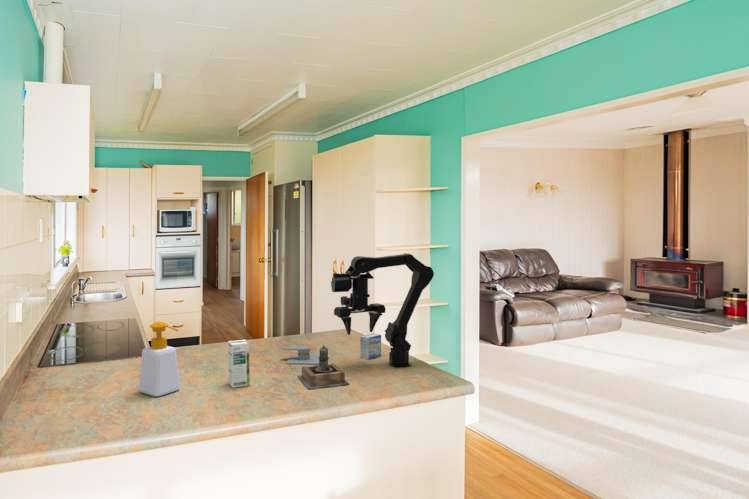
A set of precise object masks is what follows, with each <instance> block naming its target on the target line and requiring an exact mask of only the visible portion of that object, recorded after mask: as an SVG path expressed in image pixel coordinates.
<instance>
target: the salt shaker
mask: <svg viewBox="0 0 749 499" xmlns="http://www.w3.org/2000/svg"><path fill="white" fill-rule="evenodd" d="M319 355H320V357H319V358H318V359H319V367H317V368H316V369H315V371H316V374H321V373H331V371H332V368H330V367H329V366H328V364H329V359H330V357H329V349H328V348H327V347H326V346H325V344H323V345H322V347H320V348H319Z"/></svg>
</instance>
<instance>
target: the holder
mask: <svg viewBox="0 0 749 499" xmlns="http://www.w3.org/2000/svg"><path fill="white" fill-rule="evenodd" d="M328 366H329V367H330V368H332V371H331V373H321V374H316V371H315V369H316V368H317V367H319V365H301V375H297V379H298V380H299V381H300V382H301V383H302V384H303V385H304V387H306V389H307V390H317V389H327V388H335V387H344V386H350V382H348V380H346V372H345V371H344V370H343V369H341V368H340V367H339V366H338V365H337V364H336V363H333V362H331V363H328Z"/></svg>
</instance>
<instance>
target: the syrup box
mask: <svg viewBox="0 0 749 499" xmlns="http://www.w3.org/2000/svg"><path fill="white" fill-rule="evenodd" d="M227 362H228V364H227V366H228V368H227V369H228V384H229V385H230V387H231V388H233V389H234V388H239V387H240V388H242V387H249V386H250V379H251V378H250V342H249V341H248V340H247V339H240V340H239V339H238V340H228V342H227Z"/></svg>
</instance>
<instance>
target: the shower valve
mask: <svg viewBox="0 0 749 499" xmlns="http://www.w3.org/2000/svg"><path fill="white" fill-rule="evenodd" d="M281 350H285V351H286V350H289V351H291V350H292V351H297V353H296V354H294V353H293V354H291V355H290V356H289V358H288V360H287V361H286V365H300V366H312V365H319V359H318V358H319V357H320V354H311V353H310V351H311V347H310V346H303V345H301V346H300V345H299V346H298V345H297V346H293V345H292V346H288V345H287V346H282V348H281Z"/></svg>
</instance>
